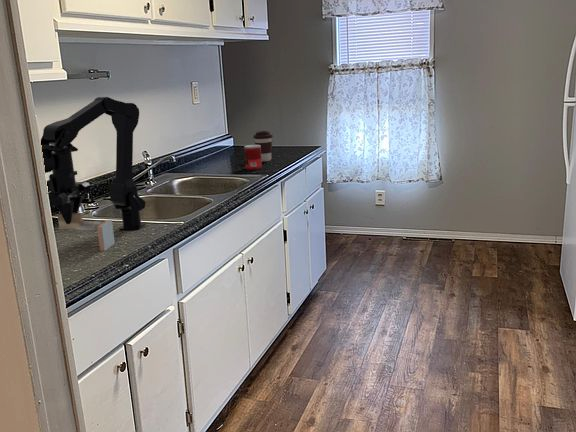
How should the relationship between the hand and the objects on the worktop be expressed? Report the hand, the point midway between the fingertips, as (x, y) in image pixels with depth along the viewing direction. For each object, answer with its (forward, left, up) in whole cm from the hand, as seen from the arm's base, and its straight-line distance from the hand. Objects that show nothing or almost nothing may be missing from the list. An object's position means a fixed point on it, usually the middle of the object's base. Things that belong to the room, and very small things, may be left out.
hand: (70, 222), depth 169 cm
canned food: (-122, +33, -8) cm, 127 cm away
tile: (0, +10, -8) cm, 13 cm away
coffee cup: (-144, +35, -8) cm, 148 cm away
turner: (0, +3, -1) cm, 3 cm away
